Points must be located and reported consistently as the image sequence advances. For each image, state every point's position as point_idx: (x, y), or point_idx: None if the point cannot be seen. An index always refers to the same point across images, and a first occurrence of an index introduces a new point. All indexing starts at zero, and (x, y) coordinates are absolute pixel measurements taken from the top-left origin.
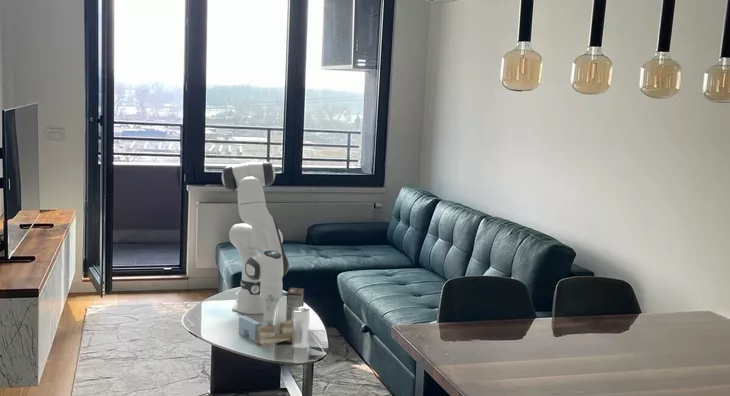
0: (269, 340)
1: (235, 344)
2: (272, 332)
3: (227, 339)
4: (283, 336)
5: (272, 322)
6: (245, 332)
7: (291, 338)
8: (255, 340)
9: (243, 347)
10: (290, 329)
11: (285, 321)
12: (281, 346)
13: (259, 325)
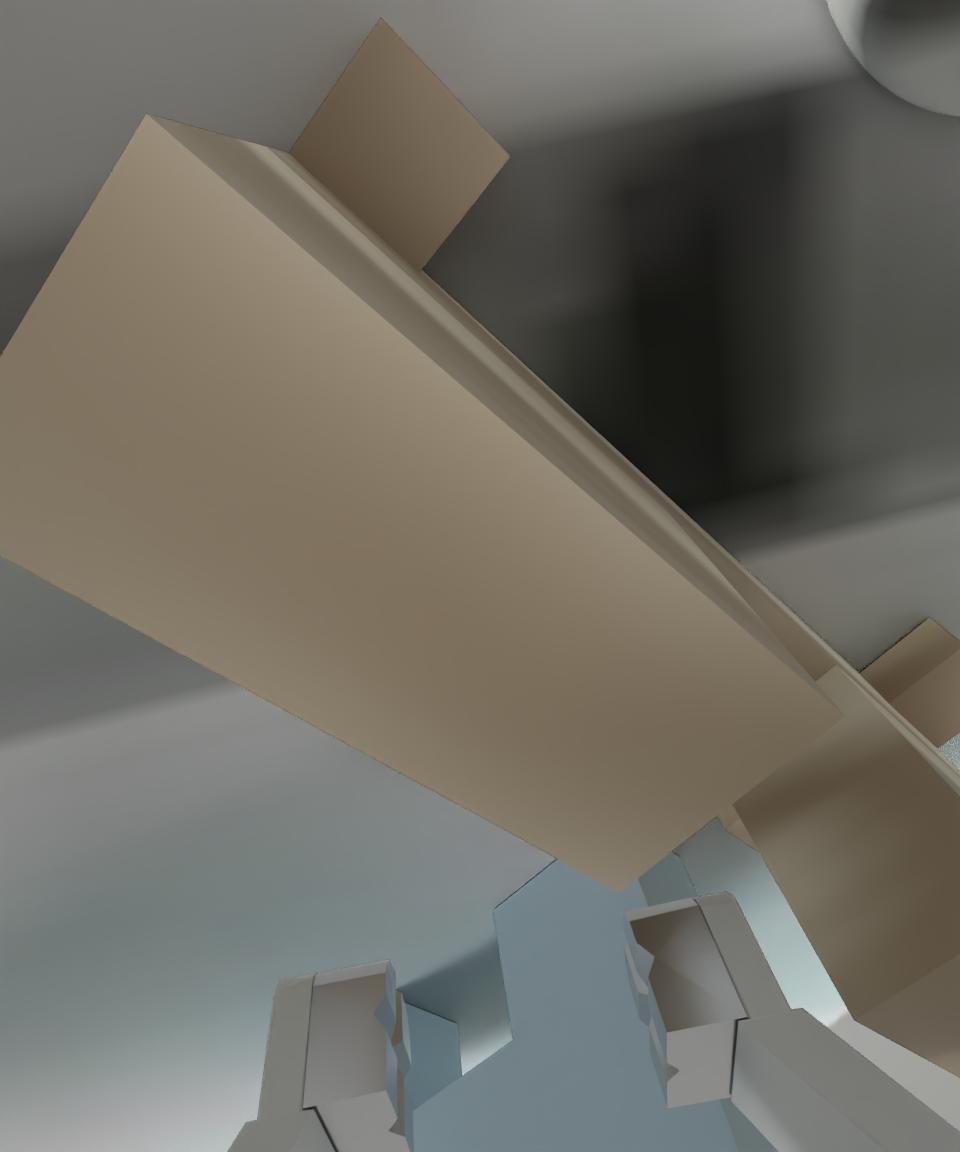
0: (865, 685)
1: (808, 988)
2: (943, 772)
3: None
4: (631, 469)
5: (380, 1023)
6: (439, 1067)
7: (435, 245)
8: (679, 865)
9: None
10: (470, 340)
11: (406, 741)
12: (939, 384)
13: (753, 1137)
